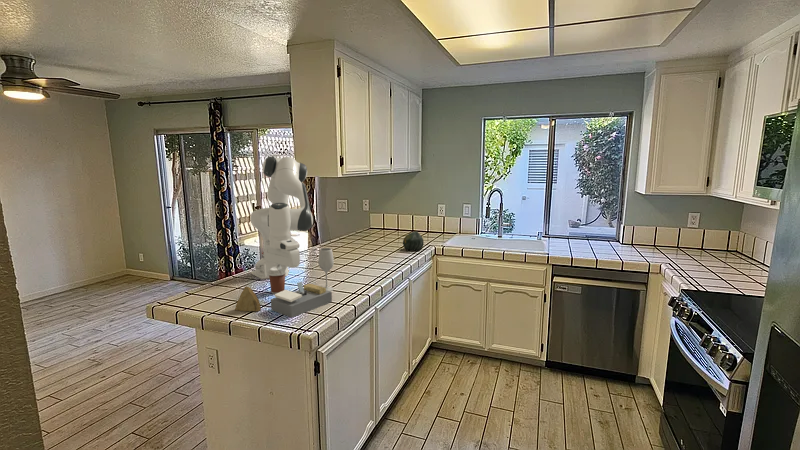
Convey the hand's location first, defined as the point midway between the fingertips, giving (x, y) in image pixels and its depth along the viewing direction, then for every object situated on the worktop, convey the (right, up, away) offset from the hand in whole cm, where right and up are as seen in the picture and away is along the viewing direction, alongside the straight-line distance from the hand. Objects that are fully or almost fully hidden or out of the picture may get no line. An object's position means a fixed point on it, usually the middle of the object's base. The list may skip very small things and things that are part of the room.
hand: (281, 273), depth 166 cm
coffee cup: (-11, -13, +30) cm, 34 cm away
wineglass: (+13, -12, +33) cm, 38 cm away
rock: (-16, -17, +6) cm, 24 cm away
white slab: (+2, -10, +4) cm, 11 cm away
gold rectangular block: (+11, -10, +16) cm, 21 cm away
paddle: (+6, -10, +10) cm, 15 cm away
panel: (+6, -16, +11) cm, 20 cm away
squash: (+60, +2, +123) cm, 137 cm away
